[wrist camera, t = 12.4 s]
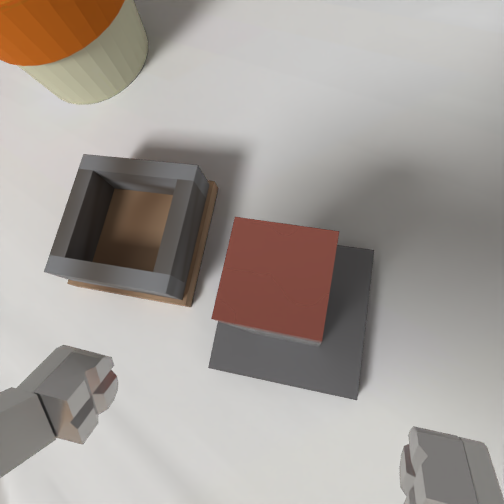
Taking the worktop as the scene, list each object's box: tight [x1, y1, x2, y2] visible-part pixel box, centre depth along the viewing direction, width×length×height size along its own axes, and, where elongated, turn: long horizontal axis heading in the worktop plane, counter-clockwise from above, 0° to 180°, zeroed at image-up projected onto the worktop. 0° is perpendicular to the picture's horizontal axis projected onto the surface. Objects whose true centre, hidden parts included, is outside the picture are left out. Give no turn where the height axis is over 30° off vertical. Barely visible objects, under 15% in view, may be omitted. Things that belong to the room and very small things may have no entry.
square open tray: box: [44, 154, 218, 307], centre depth 22 cm, size 8×8×4 cm
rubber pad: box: [208, 245, 374, 400], centre depth 21 cm, size 8×8×1 cm
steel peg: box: [212, 217, 339, 347], centre depth 16 cm, size 4×4×9 cm
